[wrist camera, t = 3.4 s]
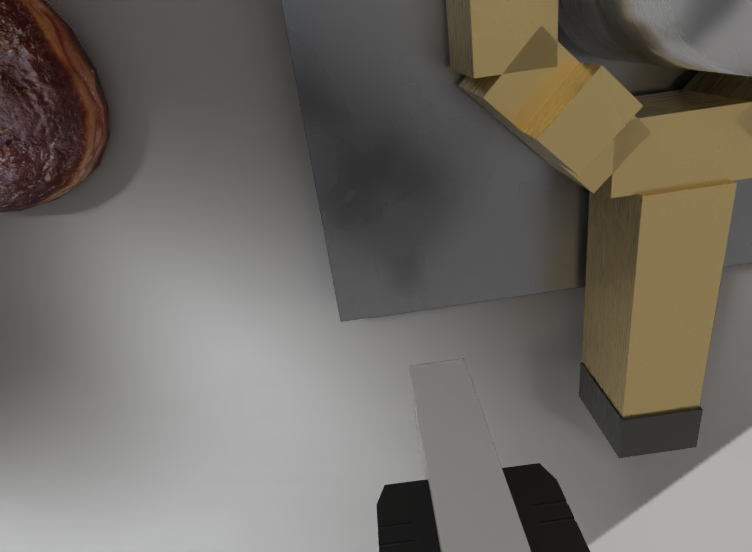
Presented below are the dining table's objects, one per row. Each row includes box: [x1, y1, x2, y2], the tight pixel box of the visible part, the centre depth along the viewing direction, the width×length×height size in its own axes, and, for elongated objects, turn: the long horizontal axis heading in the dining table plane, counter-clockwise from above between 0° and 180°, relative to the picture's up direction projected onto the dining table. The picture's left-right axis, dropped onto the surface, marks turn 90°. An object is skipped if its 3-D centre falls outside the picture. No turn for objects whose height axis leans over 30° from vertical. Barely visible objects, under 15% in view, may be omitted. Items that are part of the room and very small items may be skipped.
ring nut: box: [446, 0, 752, 458], centre depth 14 cm, size 20×11×4 cm, turn 8°
